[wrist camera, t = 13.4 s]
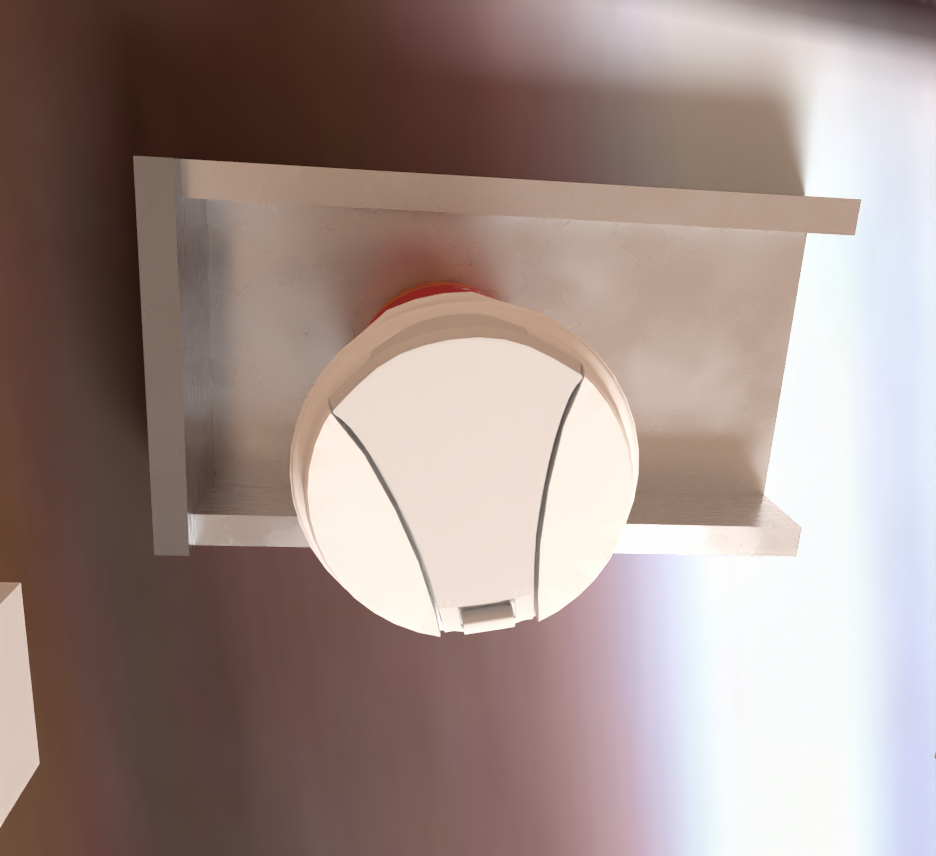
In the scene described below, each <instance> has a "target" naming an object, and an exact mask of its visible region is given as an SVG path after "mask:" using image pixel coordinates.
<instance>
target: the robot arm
mask: <svg viewBox="0 0 936 856" xmlns="http://www.w3.org/2000/svg"><path fill="white" fill-rule="evenodd" d="M935 758H936V754H935ZM39 764H40V763H39V754H38V744H37V734H36V725H35V715H34V706H33V696H32V686H31V677H30V667H29V657H28V648H27V638H26V629H25V619H24V609H23V600H22V590H21V583H4V582H0V827H1V825H2V824H3V822H4V820H5V819H6V817H7V815H8V814H9V812H10V811H11V809H12V807H13V806H14V804H15V802H16V801H17V799H18V798H19V796H20V794H21V793H22V791H23V790H24V788H25V786H26V785H27V783H28V781H29V780H30V778H31V777H32V775H33V773H34V772H35V770H36V768H37V767H38V765H39Z"/></svg>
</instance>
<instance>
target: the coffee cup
mask: <svg viewBox="0 0 936 856" xmlns="http://www.w3.org/2000/svg"><path fill="white" fill-rule="evenodd" d="M638 475H639V447H638V440H637V434H636V427H635V422H634V419H633V416H632V413H631V410H630V407H629V404H628V401H627V398H626V396H625V395H624V393H623V391H622V389H621V387H620V385H619V383H618V381H617V379H616V378H615V376H614V374H613V373H612V372H611V370H610V369H609V368H608V367H607V365H606V364H605V363H604V361H603V360H602V359H601V357H600V356H599V355H598V354H597V353H596V352H595V351H594V350H593V349H592V348H591V347H590V346H589V345H588V344H587V343H585V342H584V341H583V340H582V339H581V338H580V337H579V336H578V335H576V334H575V333H573V332H572V331H570V330H569V329H567V328H566V327H564V326H563V325H561V324H560V323H558V322H557V321H555V320H554V319H551V318H549V317H547V316H545V315H542V314H540V313H538V312H536V311H533V310H531V309H529V308H525V307H521V306H518V305H514V304H510V303H506V302H503V301H499V300H496V299H493V298H492V297H490V296H488V295H486V294H485V293H483V292H481V291H479V290H476V289H474V288H472V287H469V286H466V285H463V284H459V283H454V282H444V281H436V282H428V283H423V284H419V285H416V286H413V287H410V288H408V289H406V290H404V291H402V292H400V293H399V294H397V295H396V296H394V297H393V298H392V299H390V300H389V301H388V302H387V303H386V304H385V305H384V306H383V307H382V308H381V309H380V310H379V311H378V313H377V314H376V315H375V316H374V317H373V319H372V320H371V322H370V323H369V325H368V326H367V328H366V329H365V330H364V331H363V332H362V333H361V334H359V335H358V336H357V337H356V338H355V339H353V340H352V341H351V342H350V343H348V344H347V345H346V346H345V347H344V348H342V349H341V350H340V351H339V353H338V354H337V355H336V356H335V357H334V358H333V359H332V361H331V362H330V363H329V364H328V365H327V366H326V367H325V369H324V370H323V371H322V372H321V374H320V376H319V377H318V379H317V380H316V382H315V384H314V385H313V387H312V388H311V390H310V392H309V393H308V395H307V397H306V400H305V402H304V405H303V407H302V410H301V412H300V415H299V417H298V419H297V423H296V427H295V432H294V436H293V440H292V445H291V456H290V482H291V491H292V499H293V503H294V506H295V510H296V513H297V517H298V520H299V524H300V526H301V528H302V530H303V532H304V534H305V536H306V539H307V541H308V543H309V545H310V547H311V549H312V550H313V551H314V553H315V554H316V556H317V557H318V559H319V560H320V561H321V563H322V564H323V566H324V567H325V569H326V570H327V571H328V572H329V573H330V574H331V575H332V576H333V577H334V578H335V579H336V580H337V581H338V582H339V583H340V584H341V585H342V586H343V587H344V588H345V589H346V590H347V591H348V592H349V593H350V594H351V595H352V596H353V597H354V598H355V599H356V600H358V601H359V602H360V603H362V604H363V605H364V606H366V607H367V608H368V609H370V610H371V611H372V612H374V613H375V614H377V615H379V616H381V617H383V618H385V619H387V620H389V621H390V622H392V623H394V624H396V625H399V626H402V627H405V628H407V629H410V630H413V631H416V632H419V633H424V634H429V635H434V636H439V637H440V630H444V632H450V631H462V632H464V634H471V633H478V632H484V631H491V630H498V629H504V628H511V627H515V623H517V622H520V621H523V620H528V619H533V616H536V617H537V619H538V621H541V620H543V619H545V618H547V617H548V616H550V615H552V614H554V613H556V612H558V611H559V610H560V609H562V608H563V607H564V606H566V605H567V604H568V603H570V602H571V601H572V600H574V599H575V598H576V597H578V596H579V595H580V594H581V593H582V592H583V591H584V590H585V589H586V588H587V587H588V586H589V585H590V584H591V583H592V582H593V581H594V580H595V579H596V577H597V576H598V575H599V573H600V572H601V571H602V569H603V568H604V566H605V565H606V564H607V562H608V561H609V560H610V558H611V556H612V554H613V552H614V550H615V548H616V546H617V544H618V543H619V541H620V539H621V536H622V533H623V530H624V527H625V525H626V522H627V519H628V516H629V513H630V510H631V507H632V505H633V502H634V498H635V492H636V486H637V481H638Z"/></svg>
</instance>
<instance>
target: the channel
mask: <svg viewBox="0 0 936 856" xmlns="http://www.w3.org/2000/svg"><path fill="white" fill-rule="evenodd" d="M133 162H134V181H135V200H136V219H137V238H138V256H139V275H140V294H141V313H142V332H143V350H144V369H145V388H146V407H147V426H148V444H149V463H150V482H151V501H152V520H153V539H154V555H185V556H189V555H190V553H191V552H192V550H193V548H194V546H195V545H224V546H277V547H310V545H309V543H308V541H307V539H306V536H305V534H304V532H303V530H302V528H301V526H300V524H299V520H298V517H297V513H296V510H295V506H294V503H293V499H292V491H291V482H290V456H291V445H292V440H293V436H294V432H295V427H296V423H297V419H298V417H299V415H300V412H301V410H302V407H303V405H304V402H305V400H306V397H307V395H308V393H309V392H310V390H311V388H312V387H313V385H314V384H315V382H316V380H317V379H318V377H319V376H320V374H321V372H322V371H323V370H324V369H325V367H326V366H327V365H328V364H329V363H330V362H331V361H332V359H333V358H334V357H335V356H336V355H337V354H338V353H339V351H340V350H341V349H342V348H344V347H345V346H346V345H347V344H348V343H350V342H351V341H352V340H353V339H355V338H356V337H357V336H358V335H359V334H361V333H362V332H363V331H364V330H365V329H366V328H367V326H368V325H369V323H370V322H371V320H372V319H373V317H374V316H375V315H376V314H377V313H378V311H379V310H380V309H381V308H382V307H383V306H384V305H385V304H386V303H387V302H388V301H389V300H390V299H392V298H393V297H394V296H396V295H397V294H399V293H400V292H402V291H404V290H406V289H408V288H410V287H413V286H416V285H419V284H423V283H428V282H436V281H444V282H454V283H459V284H463V285H466V286H469V287H472V288H474V289H476V290H479V291H481V292H483V293H485V294H486V295H488V296H490V297H492V298H493V299H496V300H499V301H503V302H506V303H510V304H514V305H518V306H521V307H525V308H529V309H531V310H533V311H536V312H538V313H540V314H542V315H545V316H547V317H549V318H551V319H554V320H555V321H557V322H558V323H560V324H561V325H563V326H564V327H566V328H567V329H569V330H570V331H572V332H573V333H575V334H576V335H578V336H579V337H580V338H581V339H582V340H583V341H584V342H585V343H587V344H588V345H589V346H590V347H591V348H592V349H593V350H594V351H595V352H596V353H597V354H598V355H599V356H600V357H601V359H602V360H603V361H604V363H605V364H606V365H607V367H608V368H609V369H610V370H611V372H612V373H613V374H614V376H615V378H616V379H617V381H618V383H619V385H620V387H621V389H622V391H623V393H624V395H625V396H626V398H627V401H628V404H629V407H630V410H631V413H632V416H633V419H634V422H635V427H636V434H637V440H638V447H639V475H638V481H637V486H636V492H635V498H634V502H633V505H632V507H631V510H630V513H629V516H628V519H627V522H626V525H625V527H624V530H623V533H622V536H621V539H620V541H619V543H618V544H617V546H616V548H615V550H614V552H613V553H651V554H705V555H758V556H796V554H797V549H798V543H799V538H800V532H801V527H800V526H799V525H798V524H797V523H795V522H794V521H793V520H792V519H791V518H790V517H788V516H787V515H786V514H785V513H784V512H783V511H781V510H780V509H779V508H778V507H777V506H776V505H774V504H773V503H772V502H771V501H770V500H769V499H767V498H766V497H765V496H764V495H763V494H764V488H765V482H766V476H767V470H768V464H769V458H770V452H771V446H772V440H773V434H774V428H775V422H776V416H777V410H778V404H779V398H780V392H781V386H782V380H783V374H784V368H785V362H786V356H787V350H788V344H789V338H790V332H791V326H792V320H793V314H794V308H795V302H796V296H797V289H798V283H799V277H800V271H801V265H802V259H803V253H804V247H805V241H806V235H807V233H822V234H840V235H855V230H856V224H857V219H858V213H859V208H860V202H861V200H859V199H842V198H826V197H809V196H792V195H776V194H759V193H742V192H725V191H709V190H692V189H675V188H659V187H642V186H625V185H609V184H592V183H575V182H559V181H542V180H525V179H509V178H492V177H475V176H459V175H442V174H425V173H408V172H392V171H375V170H358V169H342V168H325V167H308V166H292V165H275V164H258V163H242V162H225V161H208V160H192V159H177V158H164V157H147V156H133Z"/></svg>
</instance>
